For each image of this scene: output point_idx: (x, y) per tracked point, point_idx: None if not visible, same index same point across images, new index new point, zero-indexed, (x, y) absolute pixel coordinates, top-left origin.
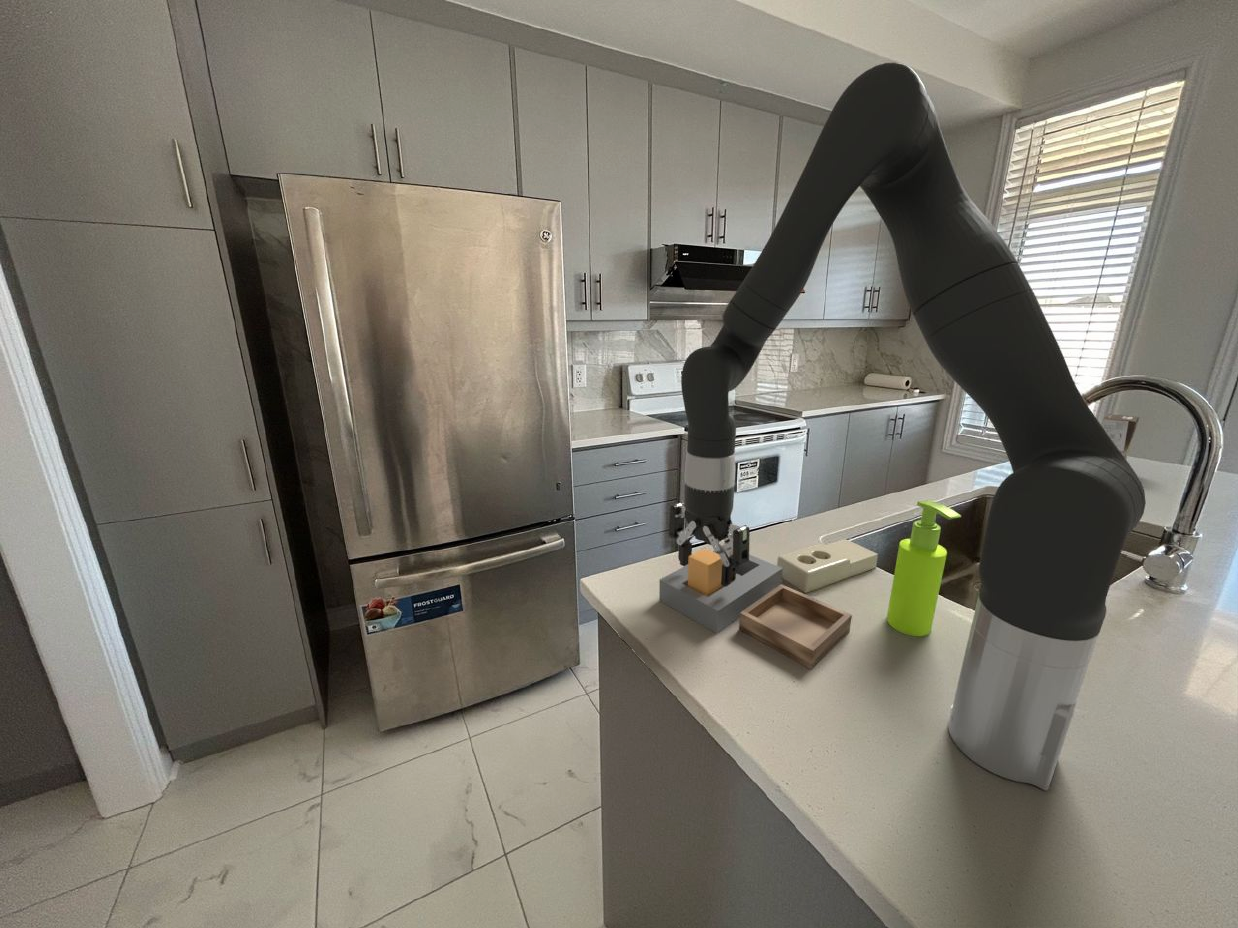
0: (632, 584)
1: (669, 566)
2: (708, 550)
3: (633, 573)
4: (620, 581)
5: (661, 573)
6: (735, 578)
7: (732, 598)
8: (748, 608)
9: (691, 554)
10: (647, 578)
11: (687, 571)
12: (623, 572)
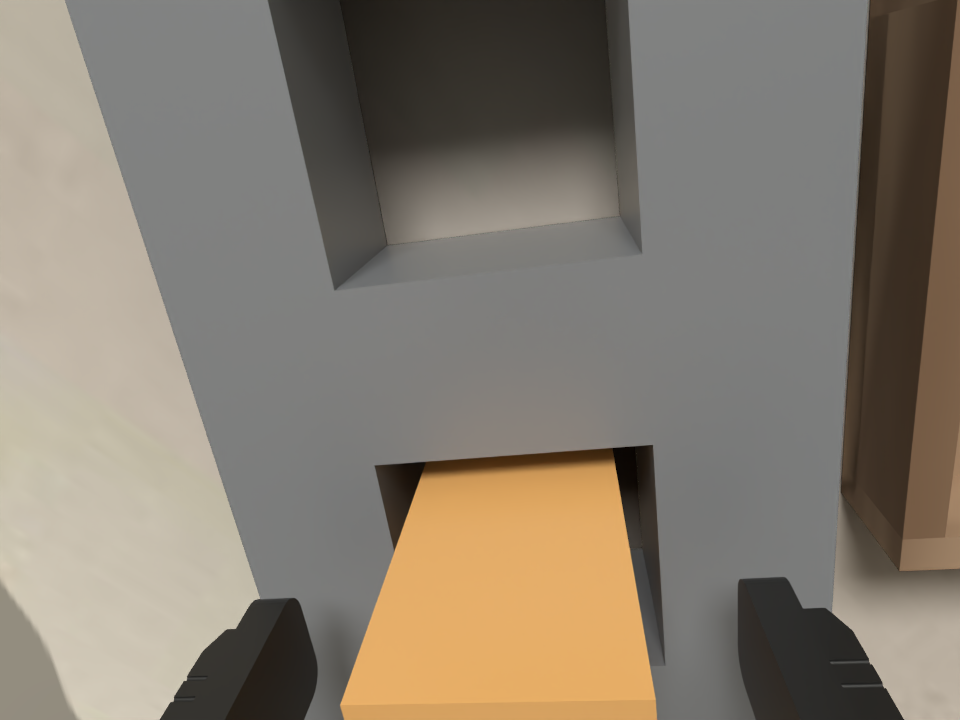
0: (146, 616)
1: (39, 335)
2: (416, 715)
3: (40, 550)
4: (93, 640)
5: (102, 432)
6: (853, 635)
7: (809, 566)
8: (919, 494)
9: (262, 656)
10: (122, 526)
11: (310, 548)
12: (10, 581)
